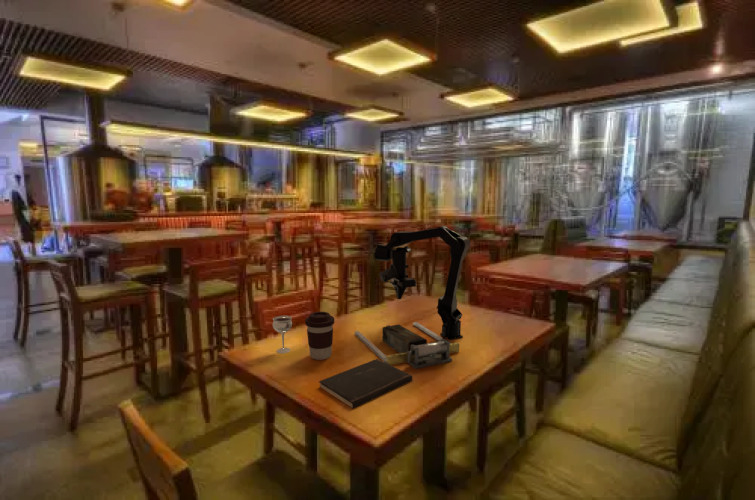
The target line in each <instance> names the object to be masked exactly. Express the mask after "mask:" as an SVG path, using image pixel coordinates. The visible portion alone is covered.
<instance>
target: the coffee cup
mask: <svg viewBox="0 0 755 500" xmlns="http://www.w3.org/2000/svg"><path fill="white" fill-rule="evenodd" d="M304 323H305V326H306V327H307V329H306V334H307V342H308V343H307V344H308V346H309V347H308V349H309V355H310V358H311V359H314V360H316V361H317V360H318V361H319V360H320V361H323V360H327V359H329V358H330V357H331V356H332V350H333V349H332V347H333V346H332V345H333V340H334V339H333V338H334V337H333V336H334V328H333V325H334V324H335V317H334V316H333V315H331V314H330V313H329V312H327V311H314V312H311V313H309V316H307V317H306V318H305V320H304Z"/></svg>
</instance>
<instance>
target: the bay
mask: <svg viewBox="0 0 755 500" xmlns="http://www.w3.org/2000/svg"><path fill="white" fill-rule="evenodd" d="M412 322H413V321H412ZM412 325H413V326H414V327H416V328H418V330H420V331H422V332H424V333H425V334H427V335H428V336H430V338H432V339H434V340H436V342H438V341H442V339H444V337H443V336H441V335H438V334H437V333H436V332H434V331H432V330H431V329H429V328H427V327H425V326H424V325H422V324H420V323H419V322H418V321H414V322H413V324H412ZM354 335H355V336H356V337H357V338H358V339H359V340H360V341H361V342H362V343H363V344H365V346H366V347H367V348H368V349H369V350H371V351H372V352H373V353H374V354H375V355H376V356H377V357H378V358H379V360H381V361H383V362H385V363H387V364H389V365H391V366H394V365H399V364H404V363H407V362H406V352H404V353H399V352H398V353H394V354H389V355H386V354H385V353H384V352H382V351H381V350H380V349H379V348H378V347H377V346H375V344H374V343H372V342H371V341H370V340H369V339H368V338H367V337H366V336H365V335H363V334H362V333H361V332H360V331H359V330H356V331H354ZM459 352H460V343H459V342H452V343H451V342H450V345H449V354H453V353H454V354H455V353H459Z"/></svg>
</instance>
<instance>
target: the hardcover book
mask: <svg viewBox="0 0 755 500" xmlns="http://www.w3.org/2000/svg"><path fill="white" fill-rule="evenodd" d="M410 382H413V376H412V374H410V373H408V372H406V371H404V370H402V369H400V368H397V367H395V366H394V365H389V364H387V363H385V362H383V361H382V360H381V359H378V358H376V359H372V360H370V361H368V362H365V363H362V364H360V365H357V366H355V367H353V368H350V369H346V370H345V371H343V372H339V373H336V374H334V375H331V376H329V377H327V378H324V379H322V380H319V381H318V383H319V386H320V388H321V389H323V390H324V391H325V392H327V393H328V394H331V395H332V396H333V397H335V398H336V399H338V400H339V401H341V402H343V403H344V404H346V405H347V406H349V407H350V408H352V410H354V409H356V408H358V407H361V406H362V405H364V404H366V403H368V402H371V401H372V400H374V399H376V398H379V397H382V396H383V395H385V394H388V393H389V392H392V391H393V390H396V389H398V388H401V387H402V386H404V385H406V384H408V383H410Z"/></svg>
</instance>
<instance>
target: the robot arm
mask: <svg viewBox="0 0 755 500" xmlns="http://www.w3.org/2000/svg"><path fill="white" fill-rule="evenodd" d="M433 238H434V239H435V238H440V239H441V240H442V241H443V242H444V243H445V244H446V245H448V247H449V254H450V264H449V270H448V275H447V278H446V279H447V281H446V283H445V285H446V286H445V291H444V294H443V295H441V296H440V297H438V299H437V305H436V309H437V314H438V315H439V317H440V318H441V321H442V325H441V332H440V334H439V335H440V336H441V337H443V338H444V339H445V338H446V340H448V341H449V340H450V341H451V340H455V339H460V338H461V339H462V338H463V336H464V335H462V334H461V330H462V329H461V328H462V327H461V326H462V324H461V323H462V321H461V319H462V317H463V313H462V312H461V311H460V310H459V308H458V300H457V293H458V286H459V281H460V276H461V271H462V266H463V261H464V259H465V258H466V255H467V253H468V250H469V249H470V246H471V242H470V240H469V238H468V237H466V236H463V235H460V234H459V233H457V232H455V231H454V230H451V229H450V228H448V227H447V226H446V225H440V226H438V227H433V228H428V229H423V230H421V229H420V230H416V231H415V230H414V231H411V230H410V231H409V230H402V231H401V230H400V231H397V232H393V233H391V236H390V240H389V241H388V242H387V244H382V243H379V244H376V248H375V251H374V253H373V254H374V259H375V261H381V262H390V261H391V260H392V262H391V263H390V264H389V267H388V268H387V269H384V270H382V271H381V272H379V273H378V276H379V278H380V281H382V282H383V283H387V282H389V283H390V284H391V286H393V288H394V291H395V294H396V299H397V300H401V299H402V297H403V295H404V294H405V291H406V289H407V288H412V287H413V288H415V287H416V286H417V280H416V279H414V278H413V277H409V274H407V269H408V268H409V264H407V253H410V252H412V249H411V248H410V247H409V246H408V244H410V243H412V242H415V241H422V240H427V239H428V240H429V239H433ZM405 245H406V246H405ZM403 246H404V247H403Z"/></svg>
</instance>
